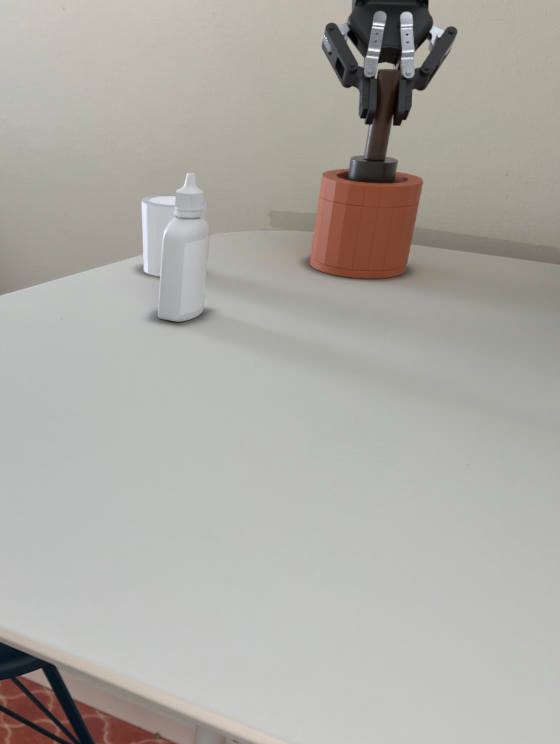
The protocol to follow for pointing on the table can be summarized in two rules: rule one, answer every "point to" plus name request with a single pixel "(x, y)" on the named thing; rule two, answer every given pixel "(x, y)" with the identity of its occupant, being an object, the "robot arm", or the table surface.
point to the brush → (378, 135)
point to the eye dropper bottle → (184, 257)
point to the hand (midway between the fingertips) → (384, 119)
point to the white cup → (157, 228)
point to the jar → (364, 225)
